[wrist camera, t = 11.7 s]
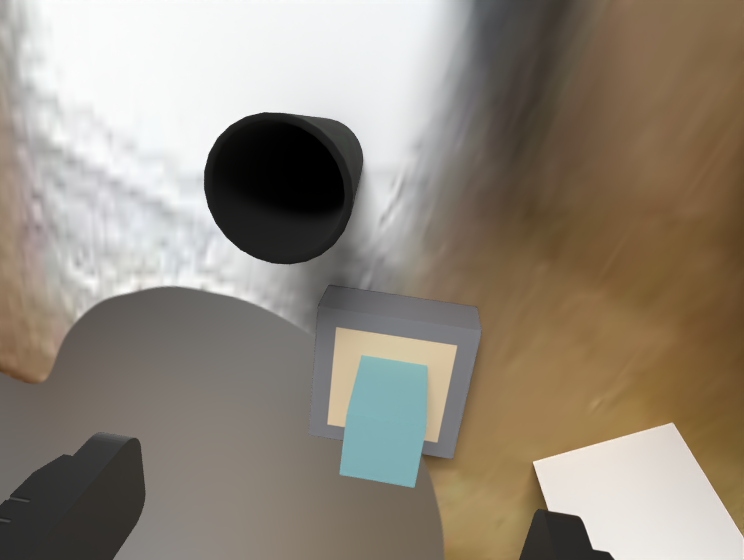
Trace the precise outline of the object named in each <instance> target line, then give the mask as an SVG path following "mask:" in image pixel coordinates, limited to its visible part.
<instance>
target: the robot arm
mask: <svg viewBox="0 0 744 560" xmlns="http://www.w3.org/2000/svg"><path fill="white" fill-rule="evenodd" d="M144 502H145V484H144V474H143V464H142V454H141V446H140V442H139V440H138V439H136V438H132V437H126V436H120V435H115V434H109V433H103V432H99V433H96V434H95V435H93V436H92V437H91V438H90V439H89V440H88V441H87V442H86V443H85V444H84V445H83V446H82V447H81V448H80V449H79V450H78V451H77V452H76V453H75V454H74V455H73V456H70V455H62V456H60V457H58V458H57V459H55V460H53V461H52V462H50V463H48V464H47V465H45V466H43V467H42V468H40V469H38V470H37V471H35V472H33V473H32V474H31V476H29V477H28V478H27V480H25V481H24V482H23V484H21V485H20V486H19V487H18V488H17V489H16V490H15V491H14V492H13V493H12V494H11V495H10V498H9V500H5V501H4V502H3V503H2V504H1V505H0V560H113V558H114V557H115V555H116V554H117V552H118V551H119V549H120V548H121V546H122V545H123V543H124V542H125V540H126V539H127V537H128V536H129V534H130V533H131V531H132V529H133V528H134V527H135V525H136V523H137V522H138V520H139V517H140V515H141V512H142V509H143V506H144ZM519 560H615V559H614V558H613V557H612V555H611V554H610V553H609V552H606V551H600V550H594V549H593V548H592V545H591V542H590V539H589V536H588V534H587V531H586V528H585V525H584V523H583V521H582V519H581V518H580V517H579V516H576V515H571V514H565V513H559V512H553V511H547V510H542V509H538V510H537V511H536V512H535V514H534V517H533V520H532V523H531V526H530V529H529V532H528V535H527V538H526V541H525V544H524V547H523V550H522V553H521V556H520V559H519Z"/></svg>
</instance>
